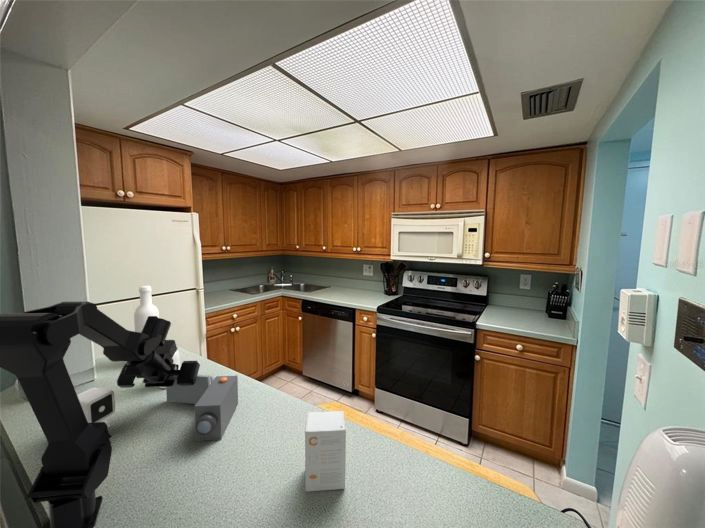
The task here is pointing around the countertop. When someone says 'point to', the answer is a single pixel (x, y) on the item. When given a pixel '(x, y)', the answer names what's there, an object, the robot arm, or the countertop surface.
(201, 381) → the side door
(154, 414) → the countertop surface
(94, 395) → the security camera
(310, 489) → the small box
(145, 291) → the bottle
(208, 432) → the camera body
